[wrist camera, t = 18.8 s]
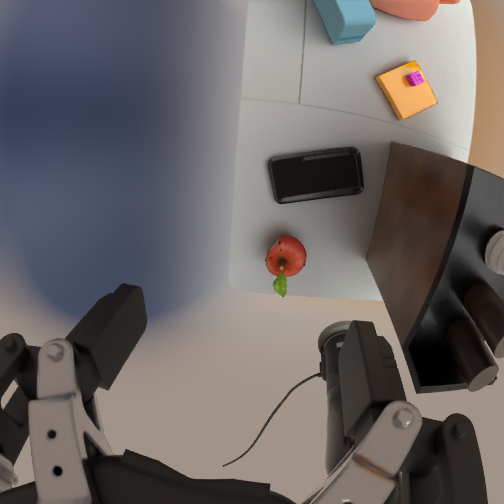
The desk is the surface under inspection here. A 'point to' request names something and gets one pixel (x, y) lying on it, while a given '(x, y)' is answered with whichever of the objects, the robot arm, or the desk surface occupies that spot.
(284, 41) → the desk surface
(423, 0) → the teapot
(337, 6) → the data package
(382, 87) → the orange square tile
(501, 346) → the dark brown cylinder
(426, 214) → the wooden panel
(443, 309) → the black flat slab
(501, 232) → the rook chess piece
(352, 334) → the robot arm
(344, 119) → the desk surface
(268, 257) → the apple
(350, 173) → the phone
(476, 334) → the dark brown cylinder
